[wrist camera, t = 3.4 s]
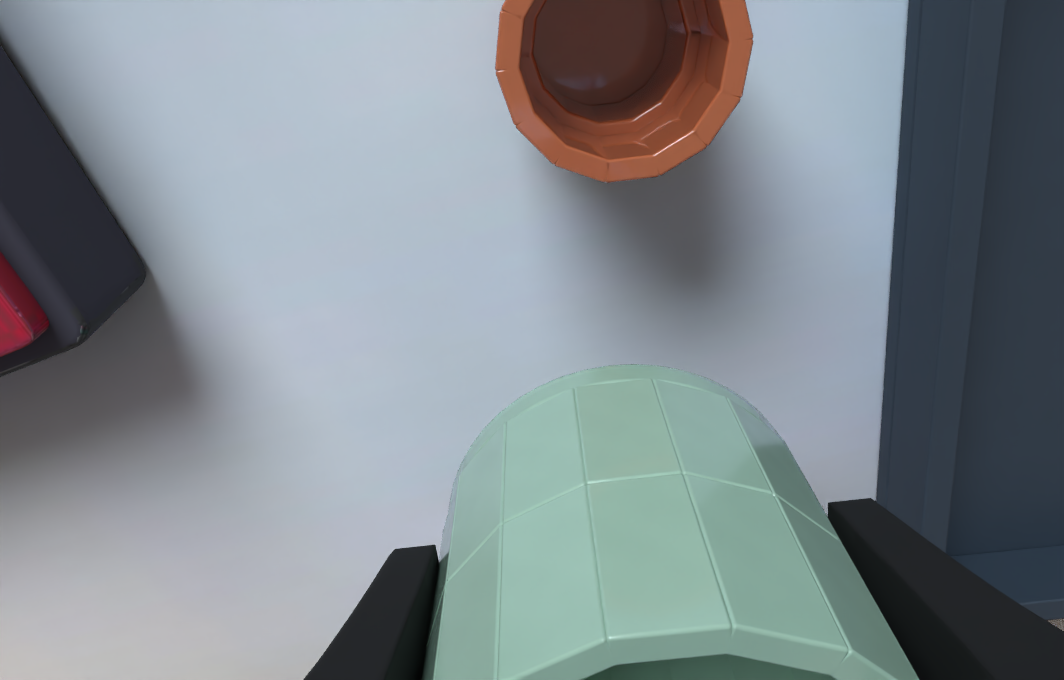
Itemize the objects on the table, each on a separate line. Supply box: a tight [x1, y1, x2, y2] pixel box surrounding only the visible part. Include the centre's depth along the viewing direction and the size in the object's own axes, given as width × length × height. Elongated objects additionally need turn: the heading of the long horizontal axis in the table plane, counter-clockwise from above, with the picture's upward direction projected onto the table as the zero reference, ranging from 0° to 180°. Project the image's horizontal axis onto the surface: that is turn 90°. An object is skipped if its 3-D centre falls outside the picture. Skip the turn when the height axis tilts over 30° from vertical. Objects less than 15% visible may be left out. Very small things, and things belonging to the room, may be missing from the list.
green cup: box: [422, 364, 920, 680], centre depth 11 cm, size 6×6×6 cm
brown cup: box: [495, 0, 753, 183], centre depth 14 cm, size 4×4×4 cm
